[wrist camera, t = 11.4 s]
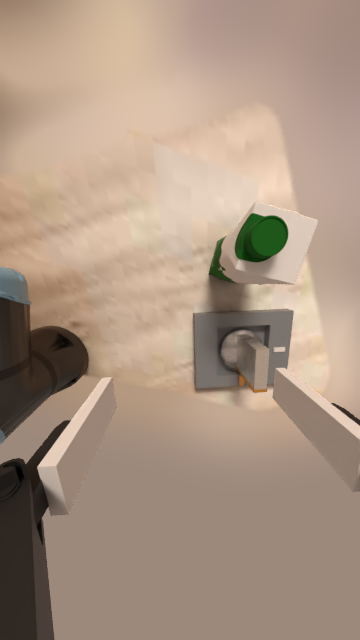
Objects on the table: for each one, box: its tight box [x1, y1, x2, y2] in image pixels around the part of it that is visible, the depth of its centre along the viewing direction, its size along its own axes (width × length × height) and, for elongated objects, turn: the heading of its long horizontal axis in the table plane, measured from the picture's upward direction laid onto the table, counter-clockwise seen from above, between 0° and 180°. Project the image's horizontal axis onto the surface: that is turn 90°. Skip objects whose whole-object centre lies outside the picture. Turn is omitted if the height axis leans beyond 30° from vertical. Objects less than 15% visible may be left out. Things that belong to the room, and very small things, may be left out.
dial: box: [219, 328, 269, 393], centre depth 36 cm, size 10×10×10 cm
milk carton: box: [209, 201, 318, 285], centre depth 28 cm, size 9×9×20 cm
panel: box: [193, 309, 293, 388], centre depth 41 cm, size 22×18×3 cm
